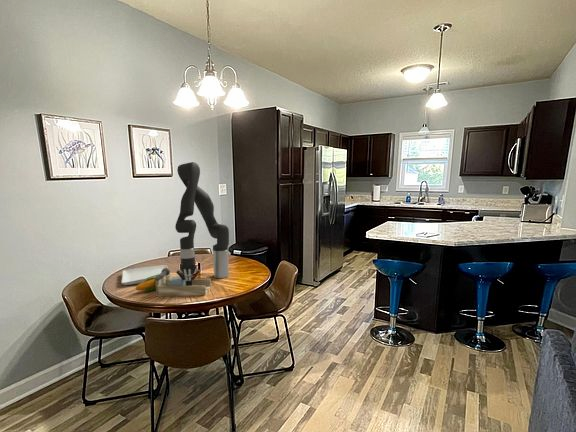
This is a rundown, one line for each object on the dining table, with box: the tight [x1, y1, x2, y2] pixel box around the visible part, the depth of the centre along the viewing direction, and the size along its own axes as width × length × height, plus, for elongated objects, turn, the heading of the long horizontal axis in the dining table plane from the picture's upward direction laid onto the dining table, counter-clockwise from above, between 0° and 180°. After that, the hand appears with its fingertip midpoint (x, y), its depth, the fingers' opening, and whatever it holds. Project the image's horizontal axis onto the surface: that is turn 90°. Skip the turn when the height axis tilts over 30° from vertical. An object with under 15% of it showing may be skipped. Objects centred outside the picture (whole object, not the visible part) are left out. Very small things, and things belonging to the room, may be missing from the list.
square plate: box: [120, 264, 172, 286], centre depth 194 cm, size 27×27×4 cm
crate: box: [168, 276, 185, 286], centre depth 168 cm, size 7×7×6 cm
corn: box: [134, 274, 169, 293], centre depth 173 cm, size 7×8×20 cm
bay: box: [155, 267, 212, 297], centre depth 169 cm, size 13×28×11 cm, turn 91°
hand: (189, 286), depth 168 cm, fingers closed
